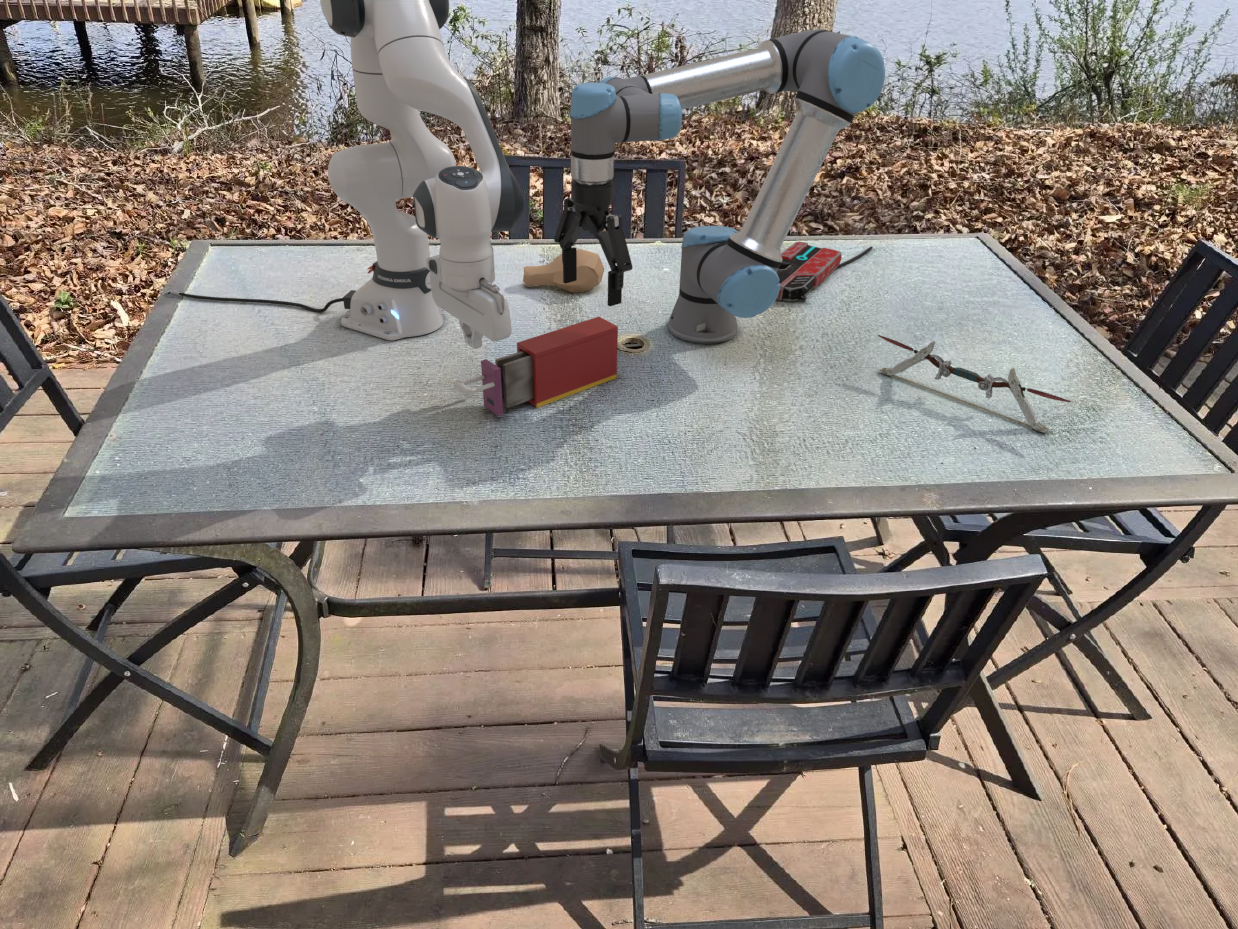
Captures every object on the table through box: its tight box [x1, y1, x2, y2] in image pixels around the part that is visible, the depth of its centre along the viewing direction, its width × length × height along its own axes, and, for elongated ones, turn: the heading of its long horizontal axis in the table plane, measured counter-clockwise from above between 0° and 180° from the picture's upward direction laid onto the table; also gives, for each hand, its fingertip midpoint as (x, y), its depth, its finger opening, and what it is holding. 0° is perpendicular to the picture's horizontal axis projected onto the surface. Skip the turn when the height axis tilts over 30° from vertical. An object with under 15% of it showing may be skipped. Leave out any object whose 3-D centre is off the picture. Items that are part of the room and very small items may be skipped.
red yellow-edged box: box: [516, 316, 619, 409], centre depth 170 cm, size 20×6×11 cm, turn 130°
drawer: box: [453, 351, 534, 416], centre depth 164 cm, size 25×5×10 cm, turn 130°
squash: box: [522, 248, 605, 293], centre depth 213 cm, size 11×20×9 cm, turn 90°
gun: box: [776, 241, 843, 303], centre depth 223 cm, size 4×31×19 cm
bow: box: [877, 334, 1072, 434], centre depth 169 cm, size 39×2×10 cm, turn 47°
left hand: (473, 345), depth 154 cm, fingers closed
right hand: (591, 292), depth 166 cm, fingers open, 13 cm apart
